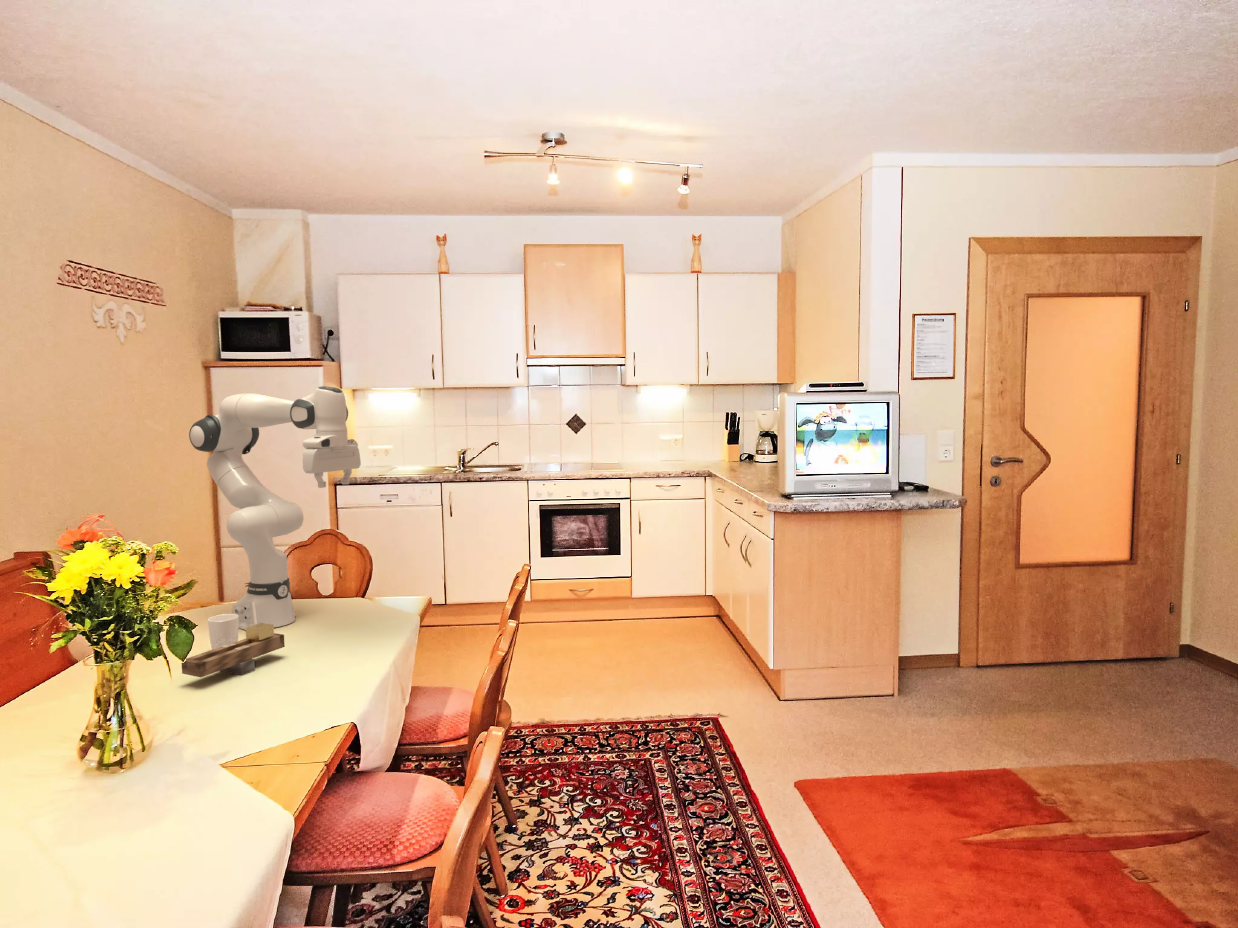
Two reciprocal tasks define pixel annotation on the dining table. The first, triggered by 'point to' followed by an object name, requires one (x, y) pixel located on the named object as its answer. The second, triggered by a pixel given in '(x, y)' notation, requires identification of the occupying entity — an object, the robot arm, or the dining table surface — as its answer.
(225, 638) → the white cup
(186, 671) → the beam
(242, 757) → the dining table surface
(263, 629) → the rider
